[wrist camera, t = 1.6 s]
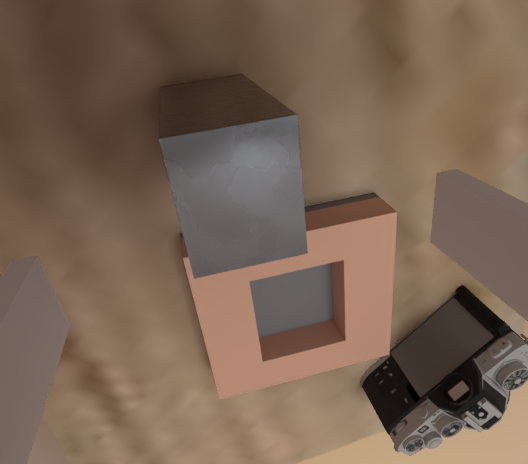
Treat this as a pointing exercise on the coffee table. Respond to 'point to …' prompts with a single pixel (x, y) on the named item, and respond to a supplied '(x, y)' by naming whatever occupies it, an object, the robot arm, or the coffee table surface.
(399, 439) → the camera
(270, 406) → the coffee table surface
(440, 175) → the robot arm
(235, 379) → the pink square frame
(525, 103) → the coffee table surface
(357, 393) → the coffee table surface
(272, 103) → the grey wood-topped pillar
